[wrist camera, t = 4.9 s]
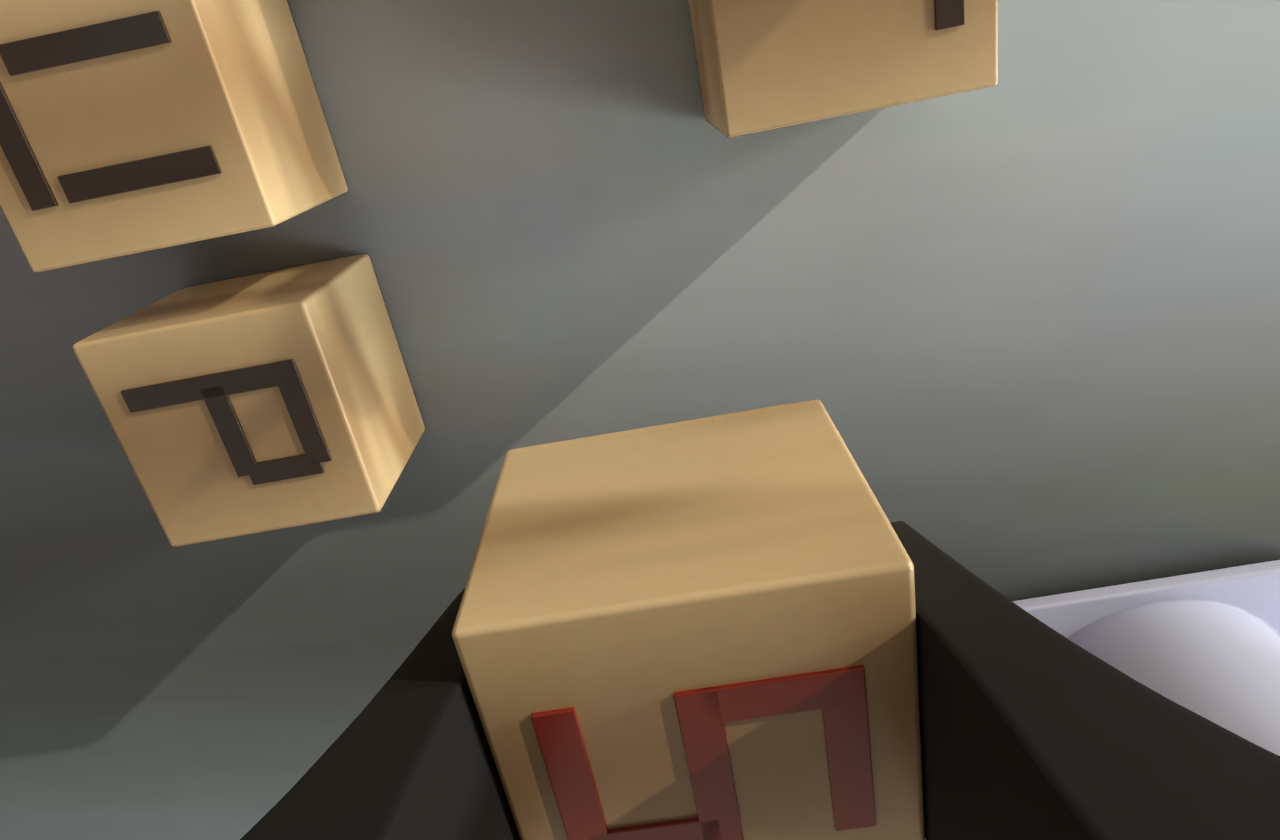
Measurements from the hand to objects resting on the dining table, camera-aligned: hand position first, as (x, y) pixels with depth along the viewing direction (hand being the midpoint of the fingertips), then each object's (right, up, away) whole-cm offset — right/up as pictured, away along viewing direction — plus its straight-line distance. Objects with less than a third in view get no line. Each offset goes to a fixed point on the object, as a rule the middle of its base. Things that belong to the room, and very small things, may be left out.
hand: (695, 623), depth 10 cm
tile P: (-8, +4, +7) cm, 11 cm away
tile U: (-9, +8, +5) cm, 13 cm away
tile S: (0, +1, +1) cm, 1 cm away
